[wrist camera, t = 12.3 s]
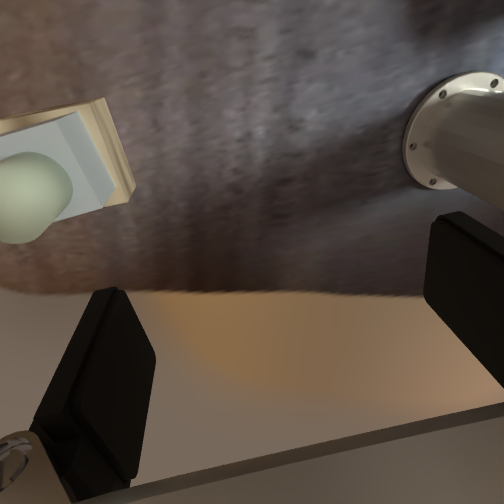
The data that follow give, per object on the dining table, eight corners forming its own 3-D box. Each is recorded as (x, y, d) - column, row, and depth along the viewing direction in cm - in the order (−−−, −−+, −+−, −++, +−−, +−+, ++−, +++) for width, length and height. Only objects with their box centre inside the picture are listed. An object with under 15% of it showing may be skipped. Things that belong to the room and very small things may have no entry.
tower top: (78, 110, 28) (55, 120, 24) (116, 187, 31) (102, 207, 27) (-1, 133, 28) (-38, 148, 24) (46, 207, 32) (21, 231, 27)
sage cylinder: (56, 146, 24) (24, 165, 20) (83, 208, 27) (60, 236, 23) (-13, 157, 24) (-59, 179, 20) (21, 218, 27) (-14, 249, 23)
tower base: (104, 97, 32) (88, 103, 28) (136, 185, 37) (127, 202, 32) (12, 115, 32) (-18, 124, 27) (56, 201, 36) (36, 220, 32)
